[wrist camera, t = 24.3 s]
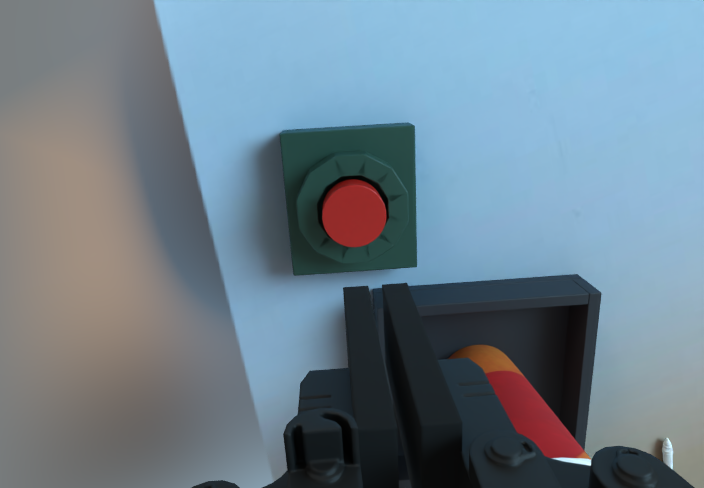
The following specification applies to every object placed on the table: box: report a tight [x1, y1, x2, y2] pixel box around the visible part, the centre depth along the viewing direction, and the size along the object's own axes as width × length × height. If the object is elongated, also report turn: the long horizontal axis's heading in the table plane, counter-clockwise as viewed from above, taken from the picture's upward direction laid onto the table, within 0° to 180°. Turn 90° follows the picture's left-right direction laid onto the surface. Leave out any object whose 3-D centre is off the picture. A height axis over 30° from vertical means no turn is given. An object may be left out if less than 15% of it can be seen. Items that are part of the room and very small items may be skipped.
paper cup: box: [448, 345, 591, 466], centre depth 30 cm, size 8×8×14 cm
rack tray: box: [373, 274, 601, 488], centre depth 36 cm, size 15×15×3 cm
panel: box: [280, 123, 417, 276], centre depth 31 cm, size 8×9×4 cm
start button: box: [322, 179, 386, 247], centre depth 29 cm, size 4×4×2 cm
